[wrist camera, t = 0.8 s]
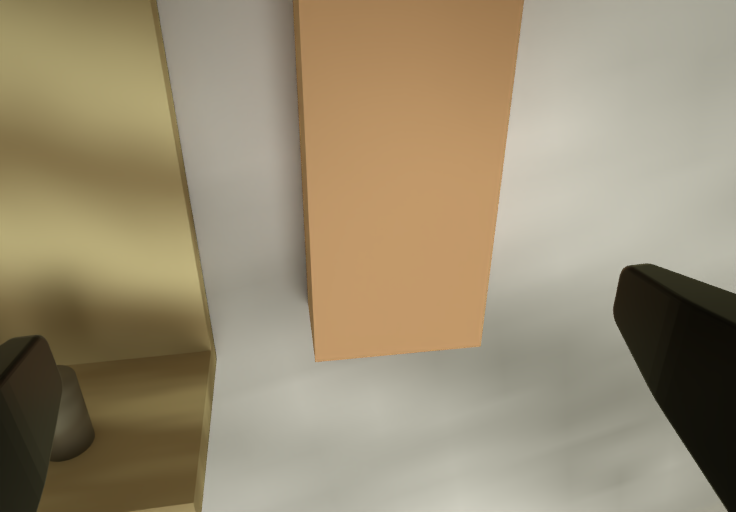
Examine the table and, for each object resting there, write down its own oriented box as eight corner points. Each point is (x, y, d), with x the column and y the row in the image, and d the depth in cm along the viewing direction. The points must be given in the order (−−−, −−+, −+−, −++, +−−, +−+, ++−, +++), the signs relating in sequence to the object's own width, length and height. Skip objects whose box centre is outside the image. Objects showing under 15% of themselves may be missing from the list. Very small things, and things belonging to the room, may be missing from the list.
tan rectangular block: (450, 287, 25) (480, 346, 22) (307, 299, 24) (315, 361, 21) (484, -99, 18) (536, -103, 15) (287, -102, 17) (293, -106, 14)
